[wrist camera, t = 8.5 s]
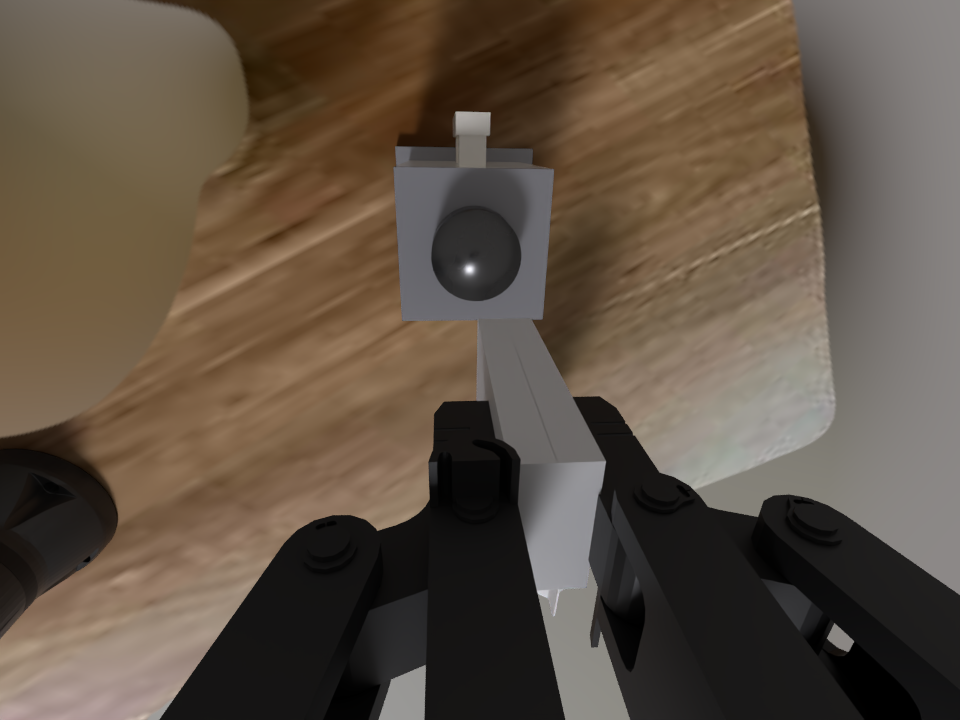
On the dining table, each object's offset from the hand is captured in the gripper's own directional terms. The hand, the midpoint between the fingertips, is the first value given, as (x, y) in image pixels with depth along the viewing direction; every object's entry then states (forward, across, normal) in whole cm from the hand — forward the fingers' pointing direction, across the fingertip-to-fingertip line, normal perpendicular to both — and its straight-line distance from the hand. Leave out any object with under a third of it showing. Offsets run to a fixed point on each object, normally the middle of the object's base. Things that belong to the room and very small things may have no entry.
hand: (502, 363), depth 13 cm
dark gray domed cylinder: (+28, 0, 0) cm, 28 cm away
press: (+30, 0, 0) cm, 30 cm away
